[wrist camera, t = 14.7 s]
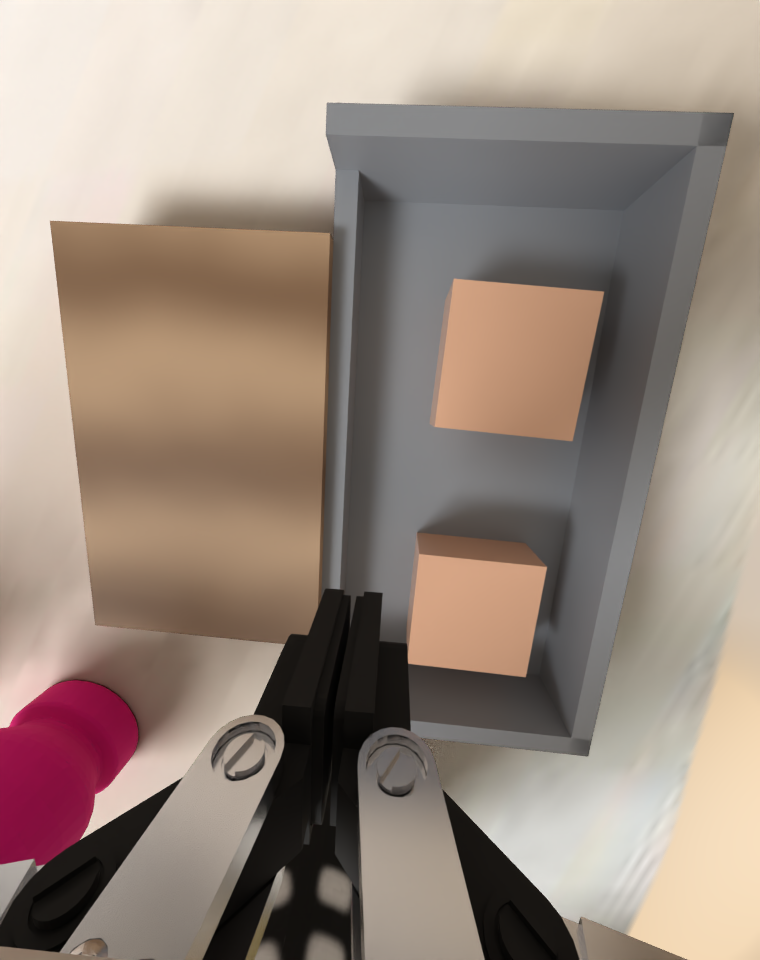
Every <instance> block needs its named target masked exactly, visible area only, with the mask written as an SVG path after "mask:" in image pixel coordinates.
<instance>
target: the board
mask: <svg viewBox="0 0 760 960" xmlns="http://www.w3.org/2000/svg"><path fill="white" fill-rule="evenodd" d="M50 225H51V234H52V243H53V252H54V261H55V270H56V278H57V287H58V296H59V305H60V314H61V323H62V332H63V341H64V350H65V359H66V368H67V377H68V386H69V395H70V404H71V412H72V421H73V430H74V439H75V448H76V457H77V466H78V475H79V484H80V493H81V502H82V511H83V520H84V529H85V538H86V546H87V555H88V564H89V573H90V582H91V591H92V600H93V609H94V618H95V625H100V626H110V627H120V628H130V629H140V630H150V631H160V632H170V633H180V634H190V635H200V636H210V637H220V638H230V639H240V640H250V641H260V642H270V643H280V644H286V641H287V639H288V637H289V636H290V635H291V634H301V635H308V633H309V631H310V628H311V625H312V623H313V620H314V617H315V615H316V612H317V609H318V606H319V604H320V601H321V590H322V561H323V531H324V502H325V472H326V443H327V413H328V384H329V355H330V325H331V296H332V266H333V239H332V237H331V234H330V233H318V232H295V231H272V230H249V229H226V228H203V227H180V226H157V225H134V224H110V223H87V222H64V221H50Z"/></svg>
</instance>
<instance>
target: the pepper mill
mask: <svg viewBox="0 0 760 960" xmlns="http://www.w3.org/2000/svg"><path fill="white" fill-rule="evenodd" d="M137 742H138V727H137V723H136V719H135V717H134V715H133V714H132V712H131V710H130V709H129V707H128V705H127V704H126V703H125V702H124V701H123V700H122V699H121V698H120V697H119V696H118V695H116V694H115V693H114V692H112V691H110V690H109V689H107V688H105V687H104V686H101V685H98V684H95V683H92V682H88V681H79V680H72V681H65V682H61V683H58V684H56V685H53V686H52V687H50V688H48V689H47V690H46V691H44V692H43V693H42V694H41V695H39V696H38V697H37V698H36V699H34V700H33V701H32V702H31V703H29V704H28V705H27V706H26V707H24V708H23V709H22V710H21V711H19V712H18V713H17V714H16V715H15V717H14V718H13V720H12V722H11V724H10V726H9V727H7V728H1V729H0V865H1V864H7V863H13V862H18V861H24V860H30V859H35V863H36V866H40V865H45V864H46V863H47V862H49V861H50V860H51V859H53V858H54V857H55V856H57V855H58V854H60V853H61V852H62V851H64V850H65V849H66V848H68V847H70V846H71V845H73V844H75V843H76V842H78V841H79V840H80V839H81V837H82V835H83V834H84V832H85V830H86V828H87V827H88V824H89V821H90V818H91V815H92V812H93V808H94V800H95V794H97V793H99V792H101V791H103V790H104V789H105V788H106V787H108V786H109V785H110V784H111V782H112V781H113V780H114V779H115V777H116V776H117V775H118V774H119V772H120V771H121V770H122V768H123V767H124V766H125V765H126V763H127V762H128V761H129V760H130V758H131V757H132V755H133V754H134V752H135V750H136V747H137Z"/></svg>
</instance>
